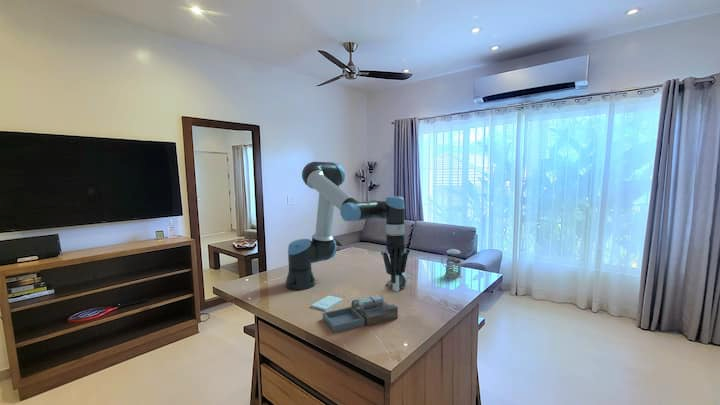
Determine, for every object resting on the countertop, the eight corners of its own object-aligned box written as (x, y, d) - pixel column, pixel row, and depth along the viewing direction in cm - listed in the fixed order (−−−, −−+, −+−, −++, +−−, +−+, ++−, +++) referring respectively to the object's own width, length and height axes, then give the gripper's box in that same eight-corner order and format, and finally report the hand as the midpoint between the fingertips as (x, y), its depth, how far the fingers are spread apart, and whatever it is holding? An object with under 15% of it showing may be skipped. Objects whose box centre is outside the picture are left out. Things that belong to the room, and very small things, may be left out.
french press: (464, 278, 163) (465, 233, 161) (443, 278, 163) (444, 233, 161) (459, 272, 173) (459, 230, 171) (439, 272, 173) (439, 230, 171)
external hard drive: (342, 302, 133) (325, 312, 123) (328, 298, 137) (310, 308, 127) (342, 298, 133) (325, 308, 122) (328, 295, 137) (310, 304, 127)
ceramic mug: (408, 283, 155) (408, 269, 154) (405, 289, 147) (405, 274, 146) (388, 282, 158) (388, 268, 158) (385, 287, 150) (384, 272, 150)
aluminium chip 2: (370, 306, 120) (369, 296, 120) (378, 304, 122) (378, 294, 122) (374, 309, 117) (374, 299, 116) (383, 307, 118) (383, 298, 118)
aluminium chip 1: (359, 308, 118) (358, 298, 118) (367, 306, 120) (367, 296, 119) (363, 312, 114) (363, 302, 114) (372, 310, 116) (372, 300, 116)
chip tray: (322, 319, 115) (322, 312, 115) (351, 312, 121) (351, 306, 121) (333, 332, 105) (333, 326, 105) (364, 325, 110) (364, 318, 110)
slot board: (351, 311, 122) (351, 300, 122) (379, 305, 128) (379, 295, 128) (367, 325, 110) (367, 314, 109) (397, 318, 116) (397, 307, 115)
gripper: (386, 236, 115) (387, 295, 116) (413, 233, 121) (414, 290, 122) (377, 234, 122) (377, 290, 123) (403, 231, 127) (403, 284, 129)
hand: (395, 290), depth 123 cm, fingers closed
